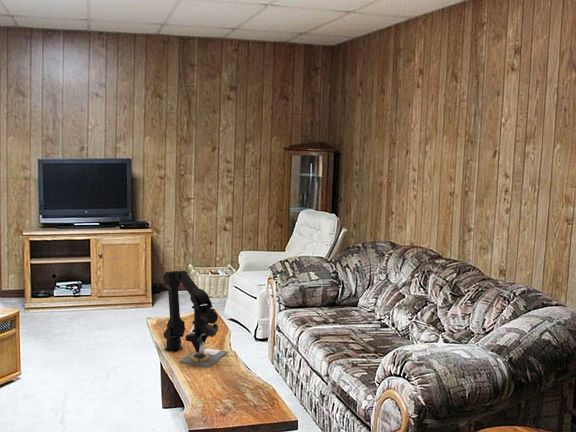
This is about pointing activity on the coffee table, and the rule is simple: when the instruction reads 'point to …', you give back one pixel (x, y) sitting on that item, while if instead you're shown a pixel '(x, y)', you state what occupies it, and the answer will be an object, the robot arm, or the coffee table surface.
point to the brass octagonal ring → (195, 359)
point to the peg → (200, 350)
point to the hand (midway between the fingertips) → (199, 351)
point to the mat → (211, 351)
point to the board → (208, 363)
